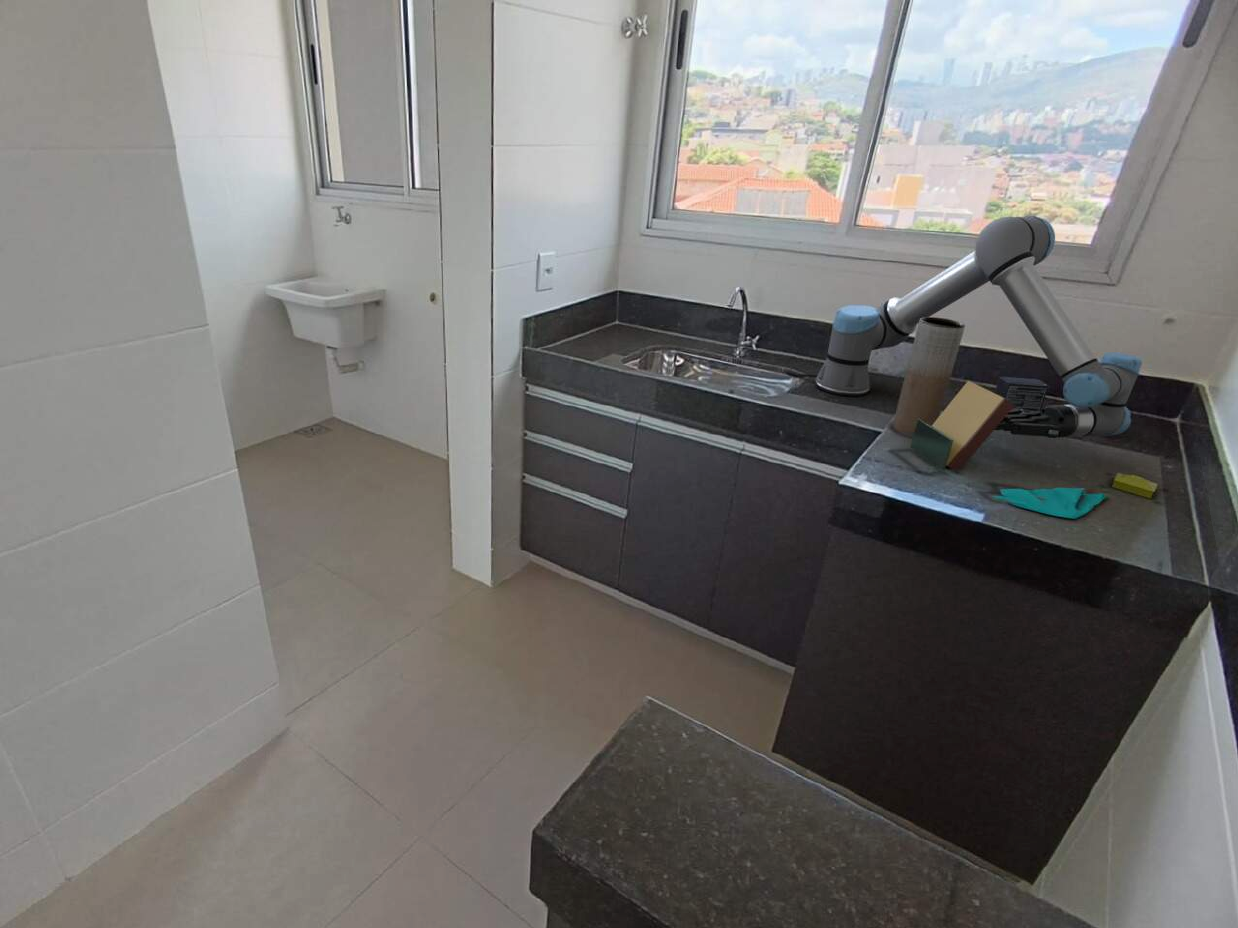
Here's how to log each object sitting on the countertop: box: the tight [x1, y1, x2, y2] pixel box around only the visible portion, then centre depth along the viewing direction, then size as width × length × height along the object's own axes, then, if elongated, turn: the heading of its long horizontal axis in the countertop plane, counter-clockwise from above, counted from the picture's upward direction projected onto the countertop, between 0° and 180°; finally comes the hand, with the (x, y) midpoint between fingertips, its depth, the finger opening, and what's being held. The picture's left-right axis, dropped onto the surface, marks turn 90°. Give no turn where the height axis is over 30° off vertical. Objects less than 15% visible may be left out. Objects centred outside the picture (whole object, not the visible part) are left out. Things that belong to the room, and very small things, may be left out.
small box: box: [994, 376, 1050, 412], centre depth 177 cm, size 11×6×10 cm, turn 84°
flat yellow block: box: [1111, 472, 1164, 504], centre depth 142 cm, size 10×9×3 cm
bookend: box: [910, 419, 953, 471], centre depth 147 cm, size 5×12×8 cm, turn 11°
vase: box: [892, 316, 966, 436], centre depth 160 cm, size 10×10×28 cm
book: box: [932, 380, 1014, 471], centre depth 147 cm, size 3×12×18 cm, turn 11°
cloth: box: [992, 486, 1108, 520], centre depth 134 cm, size 26×14×2 cm, turn 84°
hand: (975, 423), depth 147 cm, fingers closed
